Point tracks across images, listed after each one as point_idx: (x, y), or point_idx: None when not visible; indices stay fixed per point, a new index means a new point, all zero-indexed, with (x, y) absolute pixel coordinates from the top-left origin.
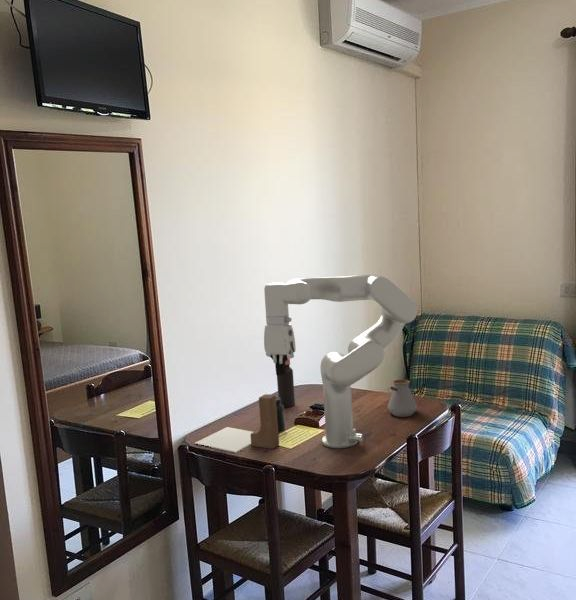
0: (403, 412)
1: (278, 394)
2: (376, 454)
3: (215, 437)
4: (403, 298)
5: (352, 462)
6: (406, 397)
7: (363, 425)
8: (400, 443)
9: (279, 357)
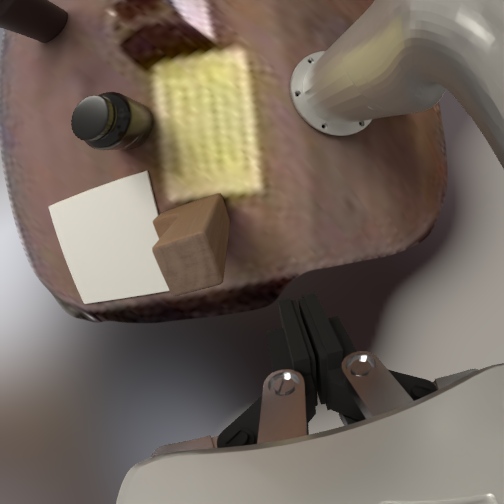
0: None
1: (27, 36)
2: (428, 121)
3: (82, 262)
4: None
5: (416, 177)
6: None
7: None
8: None
9: (302, 413)
